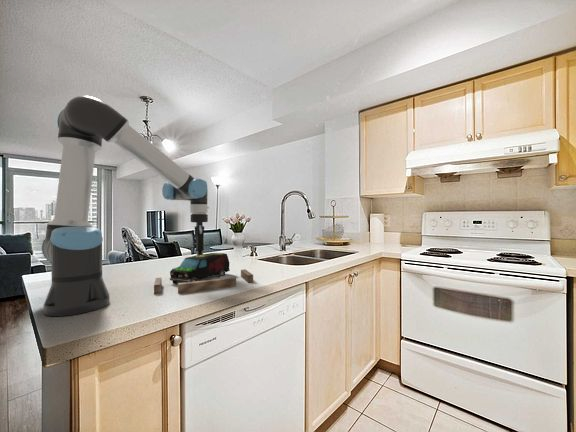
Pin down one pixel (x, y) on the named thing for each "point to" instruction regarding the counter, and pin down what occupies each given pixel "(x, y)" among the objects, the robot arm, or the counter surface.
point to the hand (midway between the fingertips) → (199, 264)
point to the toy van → (200, 267)
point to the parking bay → (205, 283)
